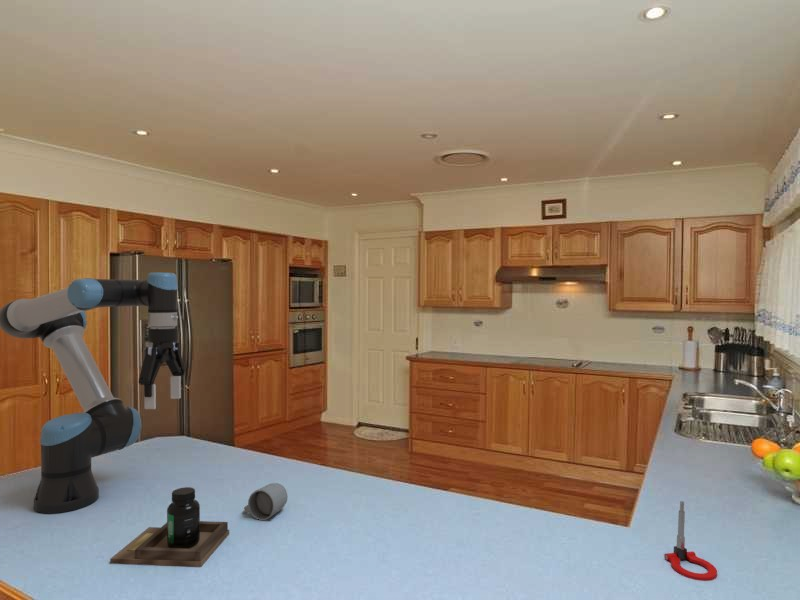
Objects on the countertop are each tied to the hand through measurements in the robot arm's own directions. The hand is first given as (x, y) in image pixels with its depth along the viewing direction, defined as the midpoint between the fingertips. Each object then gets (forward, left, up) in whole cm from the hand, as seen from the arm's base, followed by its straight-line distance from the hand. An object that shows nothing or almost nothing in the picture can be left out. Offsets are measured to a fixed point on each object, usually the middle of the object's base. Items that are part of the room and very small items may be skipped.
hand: (163, 403), depth 147 cm
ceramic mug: (+31, -8, -27) cm, 42 cm away
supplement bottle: (+19, -27, -26) cm, 42 cm away
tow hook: (+130, -28, -27) cm, 136 cm away
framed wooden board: (+17, -27, -27) cm, 42 cm away
